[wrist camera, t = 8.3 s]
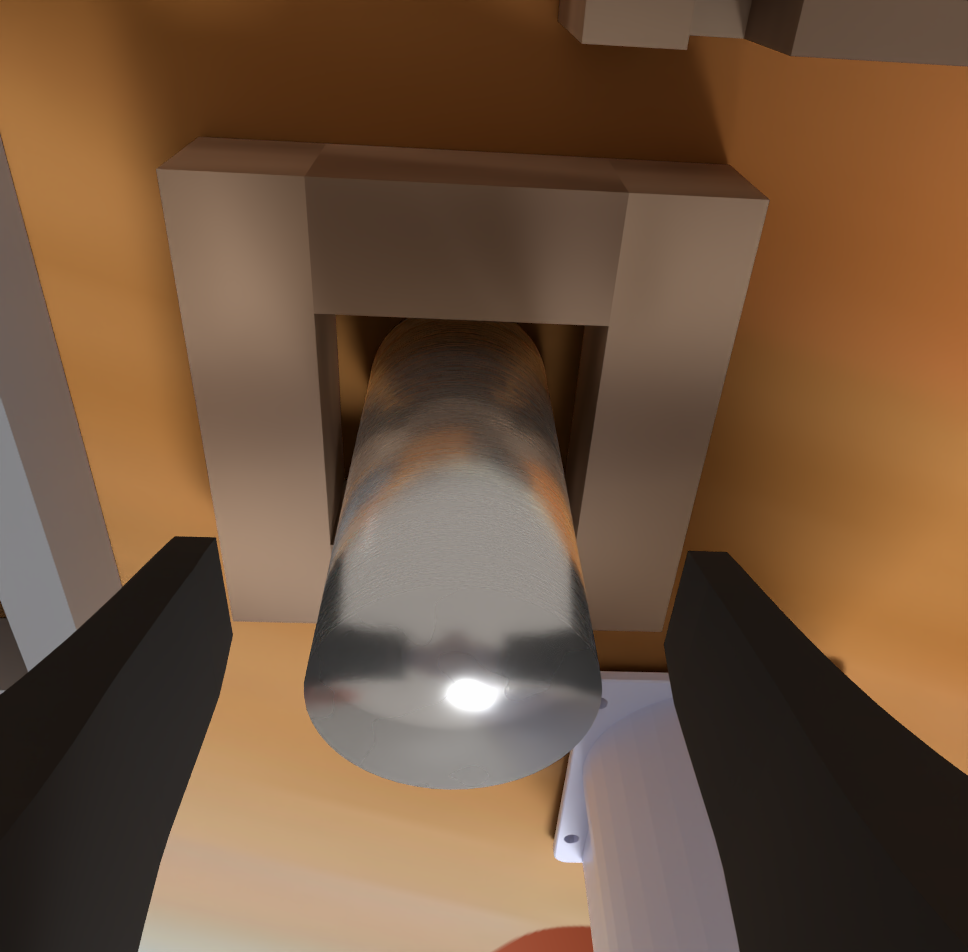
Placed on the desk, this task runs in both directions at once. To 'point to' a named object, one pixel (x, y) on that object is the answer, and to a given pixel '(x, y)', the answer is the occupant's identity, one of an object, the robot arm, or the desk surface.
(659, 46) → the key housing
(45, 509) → the rack
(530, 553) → the shiny metal cylinder
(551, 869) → the desk surface
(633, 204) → the socket block
